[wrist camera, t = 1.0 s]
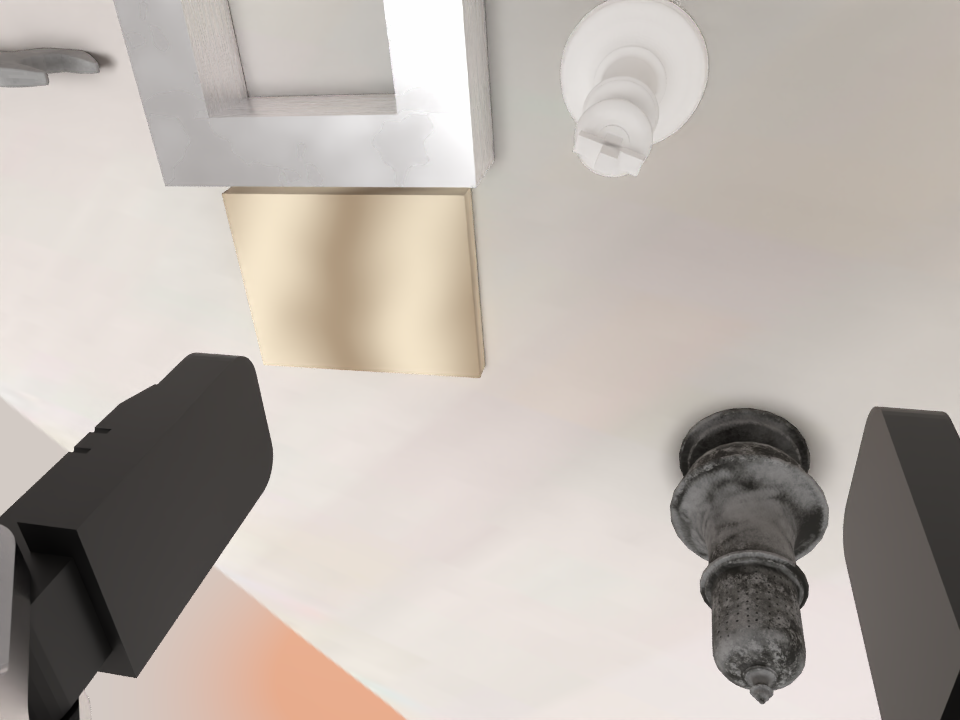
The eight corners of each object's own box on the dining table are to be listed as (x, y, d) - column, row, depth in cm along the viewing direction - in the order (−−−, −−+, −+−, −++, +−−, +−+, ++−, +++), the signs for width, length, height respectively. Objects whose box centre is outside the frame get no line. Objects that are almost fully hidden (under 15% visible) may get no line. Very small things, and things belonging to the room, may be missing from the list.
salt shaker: (648, 430, 35) (629, 659, 25) (783, 382, 32) (822, 616, 22) (708, 527, 37) (712, 775, 27) (839, 489, 34) (898, 748, 24)
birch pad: (470, 186, 31) (464, 195, 30) (485, 365, 35) (479, 378, 34) (233, 185, 33) (221, 193, 32) (273, 353, 37) (263, 365, 36)
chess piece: (592, -30, 26) (544, 20, 18) (735, 26, 26) (753, 103, 18) (540, 114, 29) (477, 216, 20) (669, 165, 29) (658, 288, 20)
